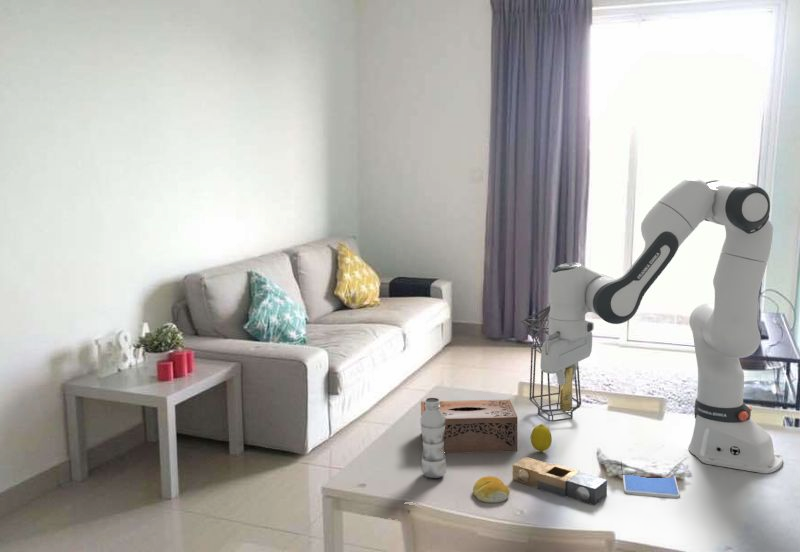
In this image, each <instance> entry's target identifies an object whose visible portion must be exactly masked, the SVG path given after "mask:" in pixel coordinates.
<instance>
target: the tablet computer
mask: <svg viewBox="0 0 800 552" xmlns="http://www.w3.org/2000/svg"><path fill="white" fill-rule="evenodd" d="M622 482H623V485H622V486H623V493H625V494H626V495H636V496H637V495H639V496H647V497H659V498H669V499H670V498H671V499H679V498H680V497H681V495H680V491H679V486H678V483H677V478H676V475H675V476H673V477H670V478H646V477H640V476H634V475H622Z"/></svg>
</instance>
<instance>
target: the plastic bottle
mask: <svg viewBox="0 0 800 552" xmlns="http://www.w3.org/2000/svg"><path fill="white" fill-rule="evenodd" d="M440 401H441V400H440V399H439V398H437V397H428V398H426V399H425V401H424V402H425V408H426V410H425V411H424V412H423V414H422V416H420V420H419V421H420V430H421V437H422V436H423V448H422V457H421V462H420V463H421V465H420V467H421V472H422V474H423V475H424V477H426V478H429V479H438V478H443V477H444V475H445V474H446V472H447V469H448V468H447V466H448V465H447V460H446V456H445V455H446V453H444V431H445V417H444V415H443V413H442V412H441V411H440V409H439V408H440Z"/></svg>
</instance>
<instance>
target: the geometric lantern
mask: <svg viewBox="0 0 800 552" xmlns="http://www.w3.org/2000/svg"><path fill="white" fill-rule="evenodd" d="M549 312H550V305H548V306H547V307H545V308H543V309H541V310H540V311H537V312H535V313H534V314H531V315H530V316H528V317H526V318H524V319H522V320H521V321H520V323H522V324H523V326H524V328H525V329H526V331H527V332H528V336H529V337H532V345H530V374H529V375H530V376H529V377H530V378H529V402H531V403H532V404H533V405H534V406H535V407H536V408H537V414H538V415H539V416H541V417H542V418H543V419H545V420H546V421H548V422H556V421H564V420H572V419H573V417H574V416H573V414H574V413H573V412H575V411H576V410H577V409H579V408H581V405H582V398H581V397H582V395H581V383H580V381H581V380H580V370H579V369H580V368H579V365H578V367H577V370H576V373H575V379H574V386H575V398H574V397H573V396H572V401H575V402H576V406H572V410H571V411H562V410H560V408H559V405H560V385H559V384H558V392H552V393H551V385H550V384H551V381H550V373H546V374H547V390H548V391H547V393H546V394H543V391H544V389H543V388H544V386H543V385H544V372H542V370H541V369H540V373H541V375H540V394H538V395H535V385H536V383H535V382H536V364H537V363H536V362H537V360H536V359H537V353H539V354H541V351H542V347H541V346H543V343H544V342H542V343H539V341H538V340H539V337H540V334H541V333H544V334H546V335H548V336H549ZM540 314H541V315H540ZM538 315H539V316H538ZM536 316H538V317H537V318H536V319H532V318H534V317H536ZM546 323H547V324H546ZM539 324H540V325H539ZM545 324H546V327H545ZM538 328H539V329H538ZM543 330H544V331H543ZM533 331H536V333H535V334H534V332H533ZM537 347H538V349H539V350H538V349H537ZM556 395H557V402H555V403H554V402H553V403H552V401H551V396H556ZM543 397H548V404H545V405H543ZM535 398H540V405H539V404H538V402H537V401H536V399H535ZM554 405H556V408H554V409H553V408H552V406H554ZM543 407H545V408H546V407H548V409H545V408H543ZM557 411H558V412H559V411H561V412H559V413H554V414H553V413H552V412H557ZM548 412H549V413H550V414H549V413H548ZM541 413H544V414H546V415H547V417H546V416H544V415H543V414H541ZM564 414H566V415H568V416H570V417H565V418H559V419H554V416H557V415H559V416H560V415H564ZM550 417H551V419H550Z"/></svg>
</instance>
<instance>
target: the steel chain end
mask: <svg viewBox="0 0 800 552" xmlns="http://www.w3.org/2000/svg"><path fill="white" fill-rule="evenodd" d="M555 476H559V475H556V474H555ZM559 477H562V476H559ZM537 489H538V490H540V491H541V490H542V491H544V492H548V493H551V494H553V495H557V496H559V497H564V498H571V499H574V500H576V501H579V502H584V503H586V504H590V505H592V506H596V505H597V504H598V503H600V502H601V501H603V500H604V499H605V498H606V497H607V496H608V495H607V494H608V479H605V478H601V477H599V476H595V475H592V474H588V473H584V472H581V471H580V472H577V473H576V474H575V475H573V476H572V477H571V478H569V479H568V480H566V489H563V488H560V487H556V486H553V485H550V484H547V483H543V482H540V481H538V487H537Z"/></svg>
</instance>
